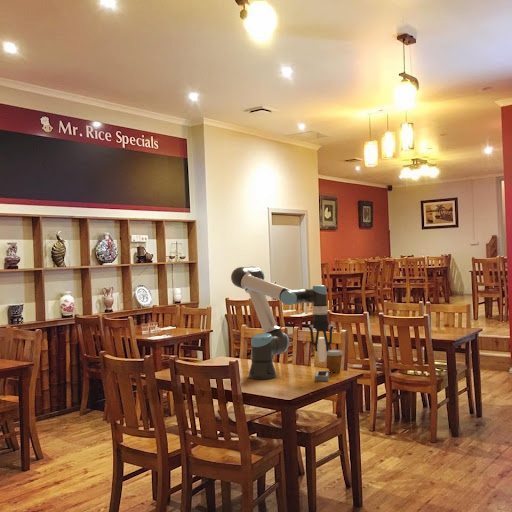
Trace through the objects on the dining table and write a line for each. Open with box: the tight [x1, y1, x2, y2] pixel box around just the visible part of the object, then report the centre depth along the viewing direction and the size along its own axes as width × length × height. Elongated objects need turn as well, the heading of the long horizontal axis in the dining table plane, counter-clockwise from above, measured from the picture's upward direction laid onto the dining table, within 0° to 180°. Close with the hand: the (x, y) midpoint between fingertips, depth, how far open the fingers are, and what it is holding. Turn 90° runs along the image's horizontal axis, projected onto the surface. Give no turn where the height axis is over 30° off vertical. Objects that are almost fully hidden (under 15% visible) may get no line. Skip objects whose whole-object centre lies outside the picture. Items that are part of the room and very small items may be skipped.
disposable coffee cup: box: [326, 349, 343, 373], centre depth 313 cm, size 10×10×12 cm
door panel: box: [317, 336, 327, 363], centre depth 296 cm, size 9×3×12 cm, turn 170°
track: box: [314, 370, 330, 382], centre depth 296 cm, size 7×14×3 cm, turn 170°
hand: (322, 357), depth 296 cm, fingers closed on door panel, 3 cm apart
